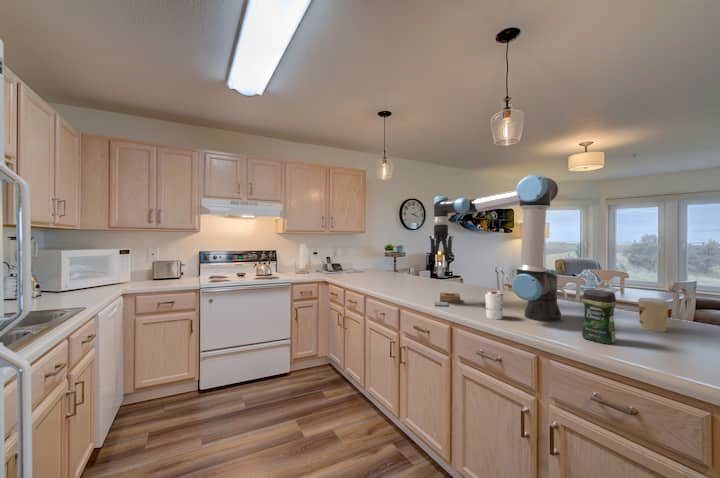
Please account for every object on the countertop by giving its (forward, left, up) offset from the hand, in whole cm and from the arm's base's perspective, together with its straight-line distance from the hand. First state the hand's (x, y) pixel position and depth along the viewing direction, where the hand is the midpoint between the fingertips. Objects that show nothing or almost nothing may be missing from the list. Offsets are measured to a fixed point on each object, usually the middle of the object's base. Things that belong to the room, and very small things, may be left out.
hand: (441, 266), depth 175 cm
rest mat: (0, 0, -21) cm, 21 cm away
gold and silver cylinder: (0, 0, -6) cm, 6 cm away
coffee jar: (-47, -56, -22) cm, 76 cm away
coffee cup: (-27, -84, -22) cm, 91 cm away
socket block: (+10, -5, -21) cm, 24 cm away
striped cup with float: (-22, -24, -22) cm, 39 cm away
